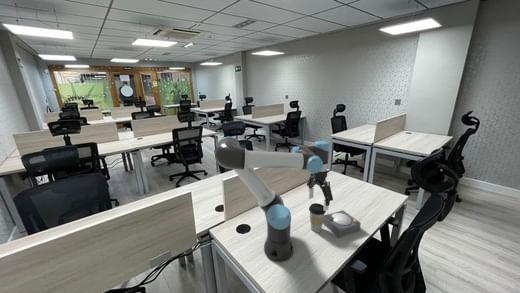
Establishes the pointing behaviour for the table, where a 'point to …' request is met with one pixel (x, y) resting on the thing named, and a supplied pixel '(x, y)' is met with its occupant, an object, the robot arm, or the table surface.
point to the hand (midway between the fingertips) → (318, 203)
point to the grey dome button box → (341, 223)
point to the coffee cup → (316, 216)
